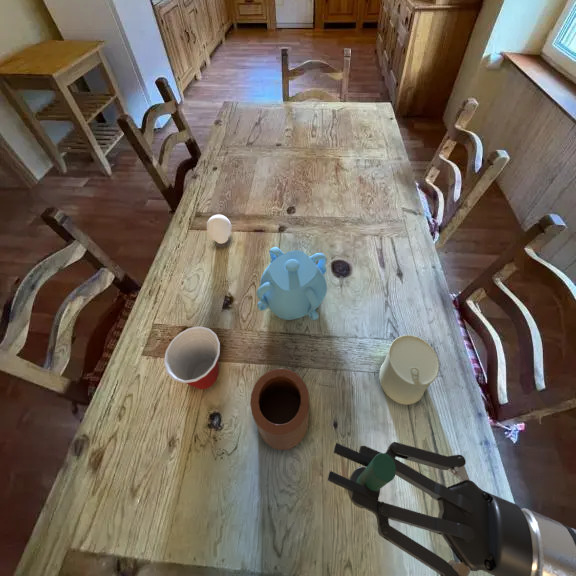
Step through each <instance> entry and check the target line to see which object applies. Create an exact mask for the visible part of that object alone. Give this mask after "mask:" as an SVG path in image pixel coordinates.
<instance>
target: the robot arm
mask: <svg viewBox="0 0 576 576" xmlns="http://www.w3.org/2000/svg"><path fill="white" fill-rule="evenodd" d="M380 453H382V452H381V451H378V450H376V449H374V448H371V447H369V446H367V445H360V447H359V450H358V451H357V450H354V449H353V448H349V447H347V446H345V445H343V444H340V443H339V442H336V443H335V445H334V449H333V454H335V455H337V456H340V457H342V458H345V459H347V460H349V461H351V462H354V463H356V464H357V465H361V466H362V467H367V466H368V465H369V463H370V462H371V461H372V460H373V459H374V457H375V456H376V455H377V454H380ZM384 453H385V454H387V455H389V456H390V457H391V458H392V459H393V461H394V463H395V466H396V474H395V476H397V477H398V478H400V479H401V480H403V481H404V482H406V483H409V484H410V485H412V486H413V487H415V488H417V489H419V490H420V491H422V492H424V493H425V494H427V495H429V497H430V498H432V499H434V500H435V501H437V504H438V509H439V510H438V515H437V516H432V515H428V514H425V513H422V512H418V511H415V510H411V509H408V508H404V507H401V506H397V505H395V504H390V503H386V502H384V501H380V500H379V499H380V494H379V493H378V492H376V491H373V490H371V489H369V488H367V487H365V486H363V485H360V484H358V483H356V482H354V481H352V480H349V478H347V477H344V476H343V475H341V474H338V473H336V472H334V471H332V470H329V472H328V476H327V481H328V482H330V483H332V484H334V485H336V486H338V487H340V488H344V489H345V490H346V491H347V490H349V491H352V495H351V500H350V502H351V503H352V502H353V503H354V504H356V505H358V506H360V507H362V508H361V509H363V510H367V511H368V512H370V513H372V514H374V516H375V518H376V525H377V533H378V535H379V536H380V537H381V538H382V539H384V540H385V541H388V542H389V543H391V544H392V545H394V546H395V547H397V548H398V549H400V550H401V551H403V552H405V553H406V554H408V555H409V556H411V557H412V558H413V559H415V560H417V561H418V562H420V563H422V564H423V565H425V566H426V567H428V568H429V569H430V570H433V571H434V572H436V573H437V574H438V575H439V576H469V574H470V573H471V572H479V571H483V572H485V573H487V574H489V575H491V576H576V529H575V528H573V527H570V526H568V525H567V524H564V523H561V522H559V521H557V520H555V519H552V518H550V517H548V516H545V515H543V514H541V513H538V512H536V511H533V510H531V509H528V508H525V507H523V508H521V507H520V506H519V505H518V504H516V503H514V502H511V501H509V500H507V499H504V498H502V497H499V496H497V495H495V494H492V493H490V492H488V491H485V490H483V489H481V487H479V486H478V485H477V484H476V482H474V481H473V480H470V477H469V474H468V472H467V469H466V467H465V465H466V462H467V461H466V458H465V457H464V456H463V455H462V454H454V455H443V454H440V453H436V452H434V451H433V452H432V451H430V450H426V449H423V448H419V447H415V446H411V445H408V444H404V443H401V442H397V441H393V442H391V443H390V444H389V445H388V447H387V449H386V452H384ZM397 458H400V459H403V460H405V461H406V460H407V461H410V462H413V463H417V464H420V465H424V466H427V467H431V468H434V469H438V470H441V471H448V473H449V475H451V477H455V478H456V479H458V480H459V482H457V483H455V484H452V485H449V486H445V485H444V484H442V483H440V482H437V481H435V480H433V479H432V478H429V477H427V476H426V475H424V474H422V473H421V472H420V471H418V470H416V469H414V468H412V467H411V466H409V465H407V464H405V463H403V462H402V461H401V460H399V459H397ZM353 503H352V504H353ZM354 504H353V505H354ZM356 505H355V506H356ZM390 520H391V521H394V522H398V523H400V524H404V525H408V526H411V527H414V528H418V529H421V530H425V531H428V532H431V533H433V534H437V535H441V537H442V538H443V539H444V541H445V543H446V544H447V545H448V547H449V548H450V549H451V551H452V552H453V554H454V555H455V557H456V558H457V559H458V561H459V562H456V560H453V559H447V560H445V559H444V558H443V557H441V556H439V555H438V554H436V553H435V552H433V551H432V550H430V549H428V548H427V547H425V546H424V545H422V544H420V543H419V542H417V541H416V540H414V539H412V538H411V537H409V536H407V535H406V534H404V533H403V532H401V531H400V530H398V529H397V528H394V527H393V526H391V525H390V522H389V521H390Z"/></svg>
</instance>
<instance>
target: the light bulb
mask: <svg viewBox="0 0 576 576" xmlns="http://www.w3.org/2000/svg"><path fill="white" fill-rule="evenodd" d="M232 230H233V229H232V223H231V221H230V219H229V218H228V217H227V216H225V215H223V214H220V213H219V214H214V215H212V216H211V217H209V218H208V220H207V222H206V232H207V235H208V236H209V238H210V239H211V240H213V241H215V245H216V246H217V247H218V248H225V247H228V246H229V245H230V243H231V238H230V236H231V234H232Z"/></svg>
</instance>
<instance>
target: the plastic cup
mask: <svg viewBox="0 0 576 576" xmlns="http://www.w3.org/2000/svg"><path fill="white" fill-rule="evenodd" d="M220 351H221V344H220V339H219V338H218V335H217V334H216V332H214V331H213V330H212V329H210V328H208V327H205V326H201V325H199V326H192V327H189V328H187V329H185V330H182V331H181V332H179V333H178V334H177V335H176V336H175V337H174V338H173V339H172V340H171V341H170V342H169V345H168V346H167V348H166V350H165V352H164V360H163V365H164V370H165V372H166V374H167V375H168V376H169V378H171V379H172V381H175V382H179V383H181V384H186V385H189V387H190V386H191V387H193V388H195V389H198V390H205V389H208V388H210V387H212V386H213V385H214V384H215V383H216V381H217V379H218V377H219V358H220V354H221V353H220Z"/></svg>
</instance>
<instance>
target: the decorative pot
mask: <svg viewBox="0 0 576 576" xmlns="http://www.w3.org/2000/svg"><path fill="white" fill-rule="evenodd" d="M268 252H269V253H268V254H269V257H270V263H269V264H268V266H267V267H266V268H265V269H264V271H263V273H262V274H261V277H260V281H259V287H258V289H257V290H256V296H257V299H258V300H259V301H258V302H257V304H256V307H257V310H258V311H261V312H263V311H266V310H268V309H269V310H270V311H271V312H272V313H273V314H274V315H275V316H276V317H277V318H279V319H281V320H285V321H293V320H297V319H300V318H303V317H306V316H308V317H309V319H310V320H311V321H315V320H318V318H319V313H318V312H317V311H316V310H317V308H318V307H319V306H320V305H321V304H322V303H323V301H324V300H325V298H326V296H327V293H328V292H327V291H328V285H327V280H326V277H325V274H326V273H327V271H328V270H327V266H326V263H327V257H326V255H325V254H324V253H323V252H316V253H314V254H312V255H310V256H309V255H308V254H307V253H305V252H304V251H302V250H297V249H295V250H290V251H287V252H283V251H282V250H281V248H279V247H278V246H273V247H271V248H270V249H269V251H268ZM317 262H318V263H317Z"/></svg>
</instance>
